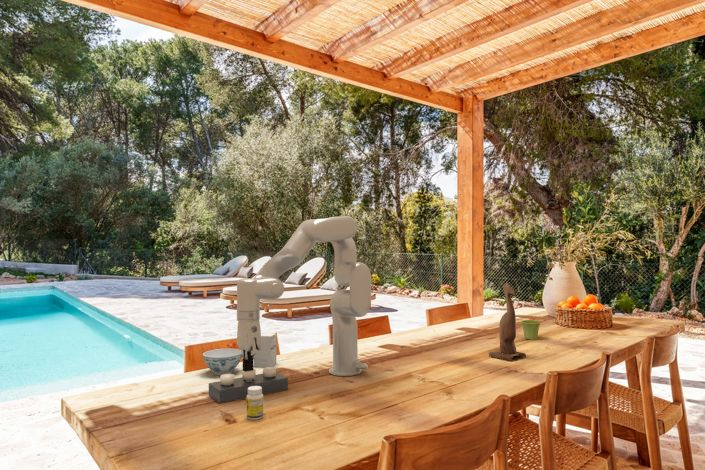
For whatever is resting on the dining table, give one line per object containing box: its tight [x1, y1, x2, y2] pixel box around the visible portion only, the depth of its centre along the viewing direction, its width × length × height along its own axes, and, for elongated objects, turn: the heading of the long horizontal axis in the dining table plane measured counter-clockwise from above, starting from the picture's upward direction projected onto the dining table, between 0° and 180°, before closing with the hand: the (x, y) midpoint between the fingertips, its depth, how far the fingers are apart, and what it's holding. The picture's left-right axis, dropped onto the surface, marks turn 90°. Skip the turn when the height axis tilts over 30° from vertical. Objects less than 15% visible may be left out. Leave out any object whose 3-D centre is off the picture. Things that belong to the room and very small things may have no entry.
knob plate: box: [208, 371, 289, 404], centre depth 163 cm, size 24×10×4 cm, turn 125°
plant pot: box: [520, 319, 541, 341], centre depth 247 cm, size 9×9×9 cm
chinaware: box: [202, 348, 243, 376], centre depth 188 cm, size 15×15×8 cm
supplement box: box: [253, 332, 277, 368], centre depth 199 cm, size 7×7×13 cm
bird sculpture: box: [488, 282, 527, 362], centre depth 208 cm, size 11×12×32 cm
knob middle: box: [241, 368, 257, 382], centre depth 163 cm, size 4×4×6 cm
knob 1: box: [219, 373, 235, 387], centre depth 158 cm, size 4×4×6 cm
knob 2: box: [262, 366, 277, 378], centre depth 167 cm, size 4×4×6 cm
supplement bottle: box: [246, 386, 264, 421], centre depth 140 cm, size 5×5×8 cm
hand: (248, 370), depth 162 cm, fingers closed
